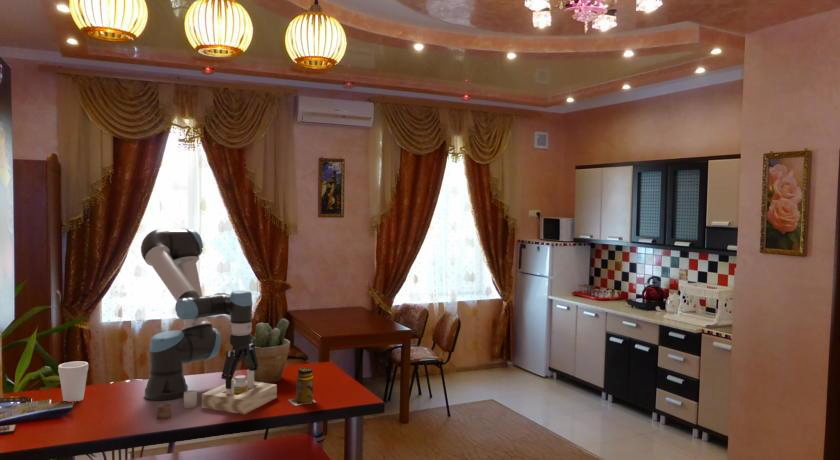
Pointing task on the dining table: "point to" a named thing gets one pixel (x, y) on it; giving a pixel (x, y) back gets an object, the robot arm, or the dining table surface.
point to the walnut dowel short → (163, 411)
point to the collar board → (239, 398)
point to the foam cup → (73, 380)
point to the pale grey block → (190, 399)
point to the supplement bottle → (240, 385)
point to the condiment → (304, 387)
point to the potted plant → (270, 351)
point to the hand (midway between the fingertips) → (240, 392)
